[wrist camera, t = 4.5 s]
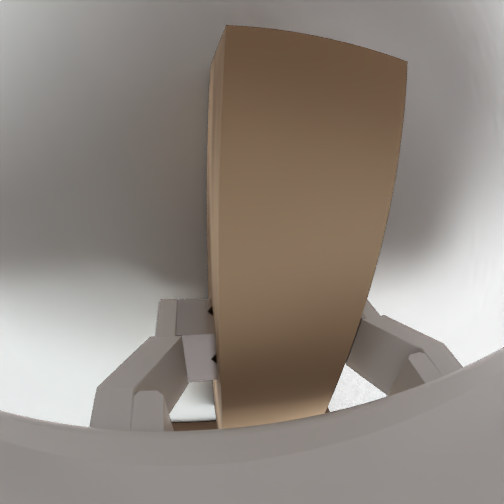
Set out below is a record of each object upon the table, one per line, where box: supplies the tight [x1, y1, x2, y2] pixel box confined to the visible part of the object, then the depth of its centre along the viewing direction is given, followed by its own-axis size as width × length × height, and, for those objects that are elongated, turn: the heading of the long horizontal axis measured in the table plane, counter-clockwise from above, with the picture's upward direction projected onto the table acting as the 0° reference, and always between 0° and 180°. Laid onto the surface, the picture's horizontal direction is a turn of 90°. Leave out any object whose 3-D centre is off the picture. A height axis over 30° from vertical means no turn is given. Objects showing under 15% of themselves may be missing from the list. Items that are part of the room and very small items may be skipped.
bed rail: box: [207, 25, 407, 429], centre depth 8 cm, size 15×3×5 cm, turn 177°
